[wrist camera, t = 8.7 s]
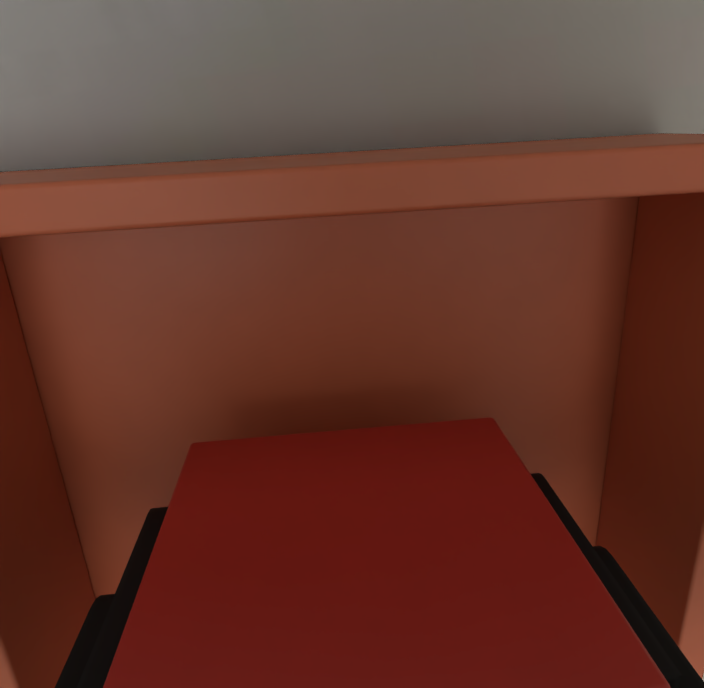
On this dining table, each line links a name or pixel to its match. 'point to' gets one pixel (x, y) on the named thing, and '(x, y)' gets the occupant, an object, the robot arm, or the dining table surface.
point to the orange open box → (349, 343)
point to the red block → (371, 571)
